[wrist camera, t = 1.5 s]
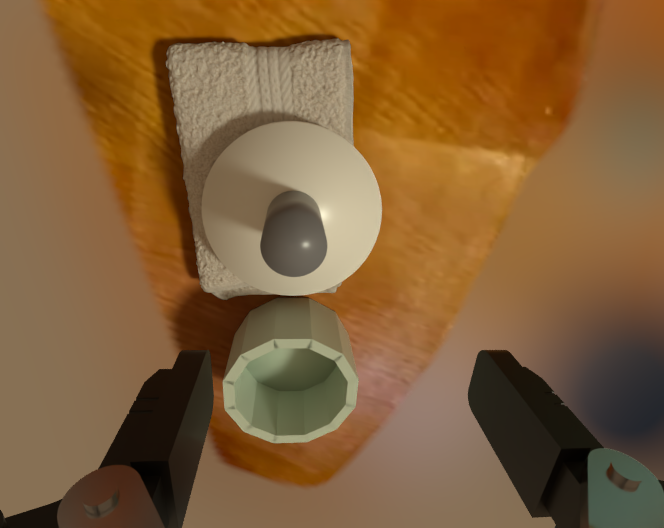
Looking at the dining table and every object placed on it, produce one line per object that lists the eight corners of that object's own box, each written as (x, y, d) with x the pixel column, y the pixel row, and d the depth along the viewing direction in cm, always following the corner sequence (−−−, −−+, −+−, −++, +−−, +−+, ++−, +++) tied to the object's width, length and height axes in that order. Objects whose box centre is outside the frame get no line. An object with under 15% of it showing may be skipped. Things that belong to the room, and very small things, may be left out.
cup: (232, 297, 31) (219, 339, 26) (351, 298, 32) (363, 338, 27) (237, 390, 35) (227, 444, 30) (343, 389, 36) (351, 440, 31)
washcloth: (208, 290, 31) (200, 308, 29) (165, 43, 24) (148, 36, 21) (349, 281, 32) (354, 299, 30) (348, 41, 25) (355, 34, 22)
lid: (198, 114, 23) (165, 121, 17) (388, 126, 25) (419, 136, 18) (211, 287, 28) (188, 339, 22) (368, 289, 29) (388, 339, 23)
